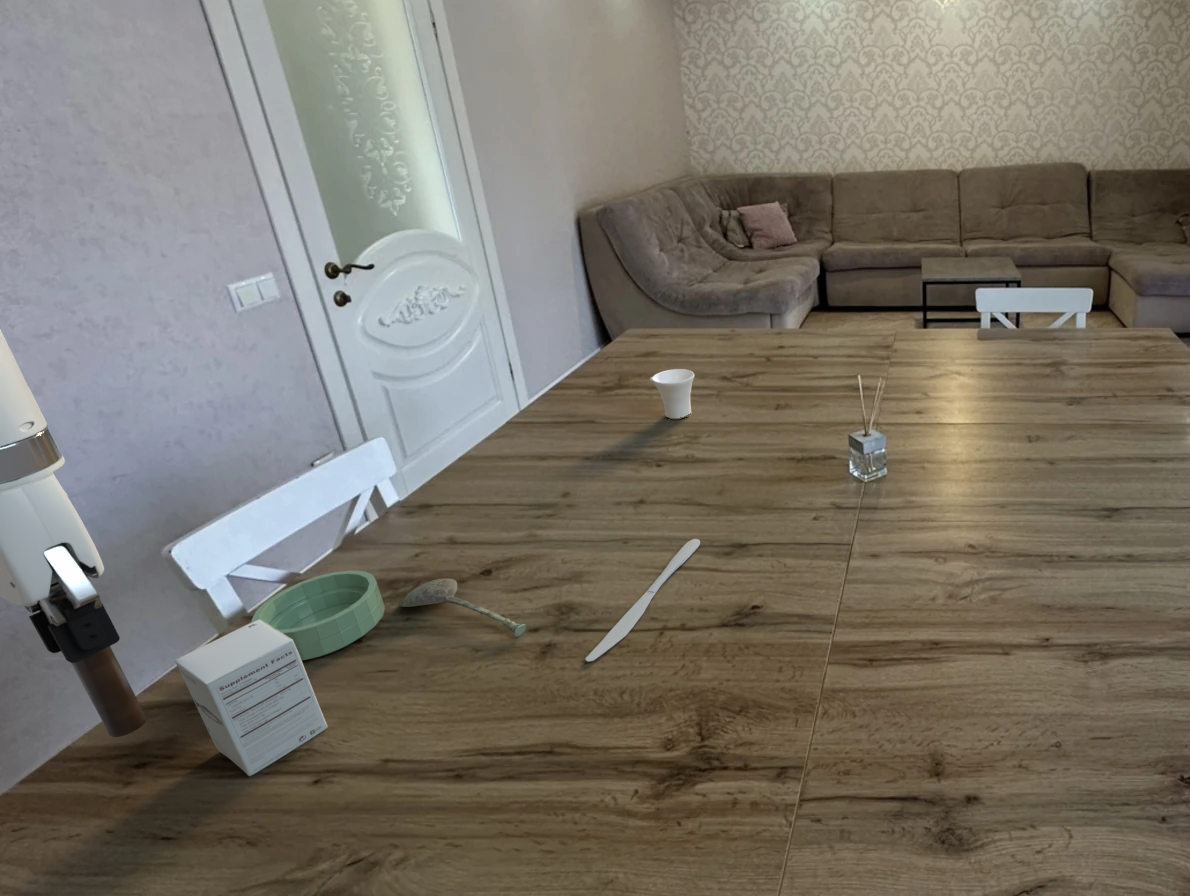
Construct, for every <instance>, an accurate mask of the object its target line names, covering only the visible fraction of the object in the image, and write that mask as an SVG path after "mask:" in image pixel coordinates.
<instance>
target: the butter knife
mask: <svg viewBox="0 0 1190 896" xmlns="http://www.w3.org/2000/svg"><path fill="white" fill-rule="evenodd" d="M700 544H701V539H698V538H692V539H690V540H689V541H687V542H686V543H685V544H684V545H683V546H682V547H681V548H680V549H679V550H678V552H676V553H675V555H674V556H673V557H672V558H671V560H670V561H669V563H667V565H666V567H665V568H664V569H663V570H662V572H661V573H660V575H659V576H658V577H657V578H656V579H655V581H654V582H653V583H652V585H650V586H649V588H648V589H647V590H646V591H645V593H644V594H643V595H641V597H639V599H638V600H637V601H636V602H635V603H634V604H633V605H632V606H631V608H629V610H627V612H626V613H625V614H624V615H623V616H622V617H621V618H620V620H619V621H617V623H616V624H615V625H614V626H613V627H612V629H610V630H609V632H608V633H607V634H606V635H605V636H604V637H603V639H602V640H601V641H600V642H599V643H598V644H597V645H596V646H595V647H594V648H593V650H591V652H590V653H589V654H588V655H587V656H586V657H585V661H586V662H587V663H589V662H594V661H595V660H597V659H598V658H600V657H601V656H602V655H603V654H605V653H606V652H608V650H610V649H611V648H613V647H614V646H615V645H617V643H618V642H620V641H621V640H622V639H623V638H625V637H626V636H627V635H628V634H629V633H630V631H632V629H633V627H634V626H635V625H636V623H638V621H639V620H640V618H641V617H642V616H643V614H644V613H645V611H646V610H647V608H648V606H649V604H650V602H651V601H652V599H653V598H654V596H655V595H656V594H657V593H658V591H659V590H660V587H662V585H663V584H664V583H665V581H667V580H668V579H669V577H670V576H671V575H673V573H674V572H675V571H676V570H677V569H678V568H680V567H681V566H682V565H683V564H684V563H685V562H686V561H687V560H688V559H689V558H690V557H691V556H692V555H693V554H694V552H695V551H696V550H697V549H698V548H699V546H700Z"/></svg>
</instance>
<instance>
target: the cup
mask: <svg viewBox="0 0 1190 896" xmlns="http://www.w3.org/2000/svg"><path fill="white" fill-rule="evenodd" d="M694 379H695V373H694V372H693V371H692V370H690V369H687V368H686V369H685V368H673V369H667V370H663V371H660V372H657V373H655V374H654V375H653V376H651V377H650V378H649V381H650V383H652V384H653V385H654V386H655V387H656V389H657V391H658V393H659V395H660V397H661V400H662V403H663V407H664V414H665V415H666V416H667V417H670V418H680V417H684V416H686V415H688V414H690V413H691V414H692V406H691V394H692V393H691V392H692V387H693V386H692V385H693V381H694Z"/></svg>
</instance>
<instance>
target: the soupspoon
mask: <svg viewBox="0 0 1190 896" xmlns="http://www.w3.org/2000/svg"><path fill="white" fill-rule="evenodd" d="M457 591H458V581H456V579H453V578H437V579H434V580H429V581H427V582H425V583H423V584H420V585H418V586H417V587H415V588H414V589H412V590H411V591H410V592H408V593H407V594H406V595H405V596H404V598H403V599H402V600H401V601H400V603H399V607H401V608H411V607H419V606H426V605H434V604H439V603H440V604H441V603H451V604H454V605H457V606H461V607H464V608H466V609H469V610H472V611H475V612H477V613H480V614H482V615H485V616H487V617H489V618H492V619H494V620H496V621H498V622H500V623H502V625H503V626H506V627H507V628H508V629H510V630H511V632H512V633H513V636H514V638H519V637H521V636H523V634H524V633H525V631H526V630H527V627H528V626H527V624H525V623H522V624H520V623H517V622H515V621H512V620H511V619H510V618H506V617H504V616H502V615H500V614H498V613H496V612H494V611H491V610H489V609H488V608H487V609H486V608H484V607H481V606H479V605H477V604H474V603H471V602H469V601H467V600H464V599H461V598H458V597H455V594H456V593H457Z"/></svg>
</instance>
